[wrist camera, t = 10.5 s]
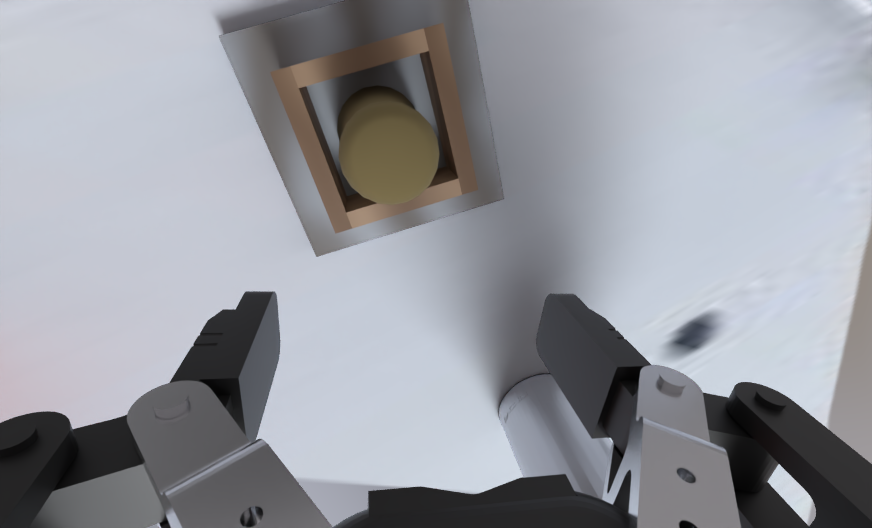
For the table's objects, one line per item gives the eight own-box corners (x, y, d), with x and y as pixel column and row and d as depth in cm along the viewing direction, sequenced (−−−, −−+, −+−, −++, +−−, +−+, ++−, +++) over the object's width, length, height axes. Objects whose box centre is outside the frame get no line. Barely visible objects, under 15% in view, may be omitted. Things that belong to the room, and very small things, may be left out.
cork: (408, 181, 31) (432, 232, 21) (328, 159, 29) (316, 204, 20) (431, 101, 29) (470, 117, 19) (347, 72, 27) (343, 74, 18)
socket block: (457, -28, 27) (479, -49, 22) (498, 193, 35) (521, 214, 30) (225, 37, 26) (196, 30, 22) (318, 249, 34) (312, 279, 29)
